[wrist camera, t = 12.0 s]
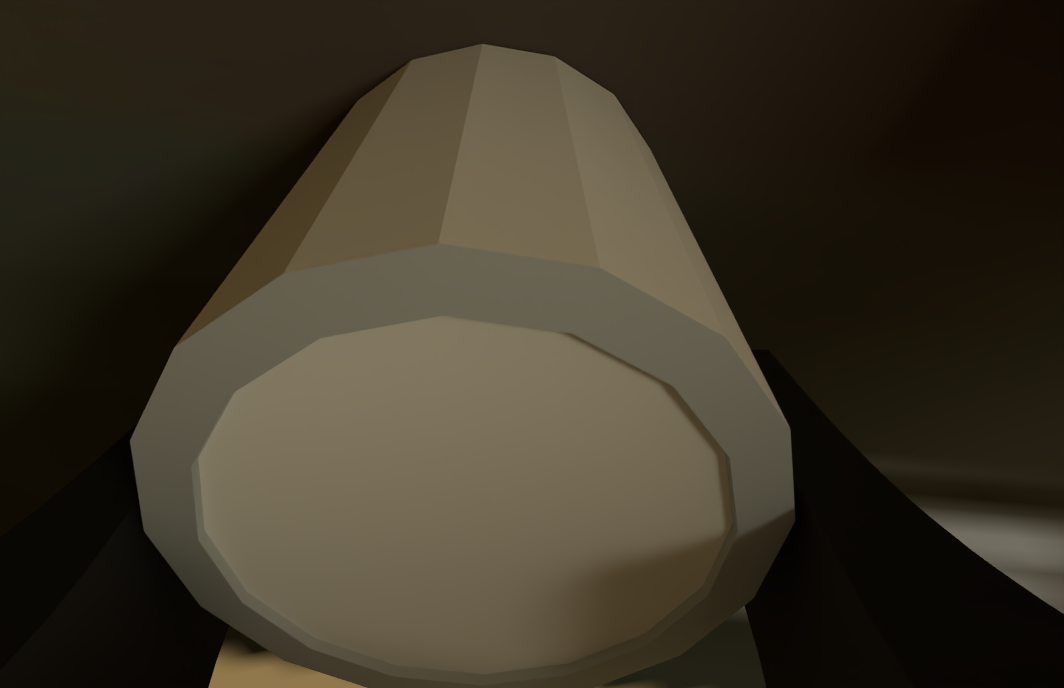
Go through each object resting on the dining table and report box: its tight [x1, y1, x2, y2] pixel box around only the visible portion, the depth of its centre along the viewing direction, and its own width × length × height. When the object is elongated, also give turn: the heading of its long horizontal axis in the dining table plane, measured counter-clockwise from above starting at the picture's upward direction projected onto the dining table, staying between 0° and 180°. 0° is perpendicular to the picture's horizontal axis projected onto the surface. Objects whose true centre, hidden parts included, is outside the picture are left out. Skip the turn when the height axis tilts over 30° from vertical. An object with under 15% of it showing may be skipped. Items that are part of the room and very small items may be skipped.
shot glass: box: [130, 44, 795, 688], centre depth 12 cm, size 7×7×7 cm
